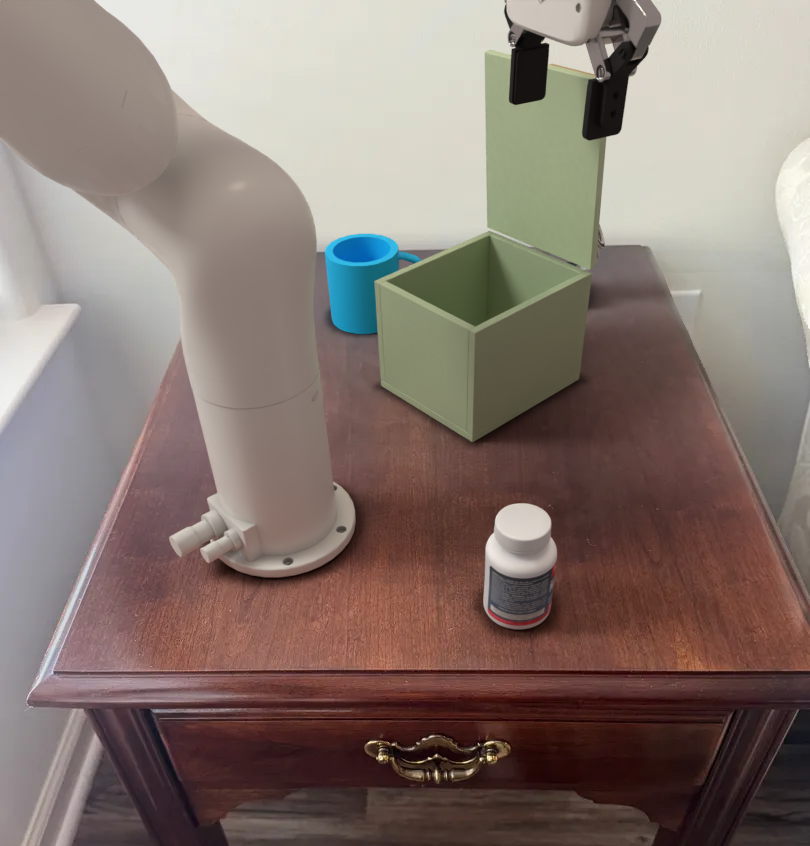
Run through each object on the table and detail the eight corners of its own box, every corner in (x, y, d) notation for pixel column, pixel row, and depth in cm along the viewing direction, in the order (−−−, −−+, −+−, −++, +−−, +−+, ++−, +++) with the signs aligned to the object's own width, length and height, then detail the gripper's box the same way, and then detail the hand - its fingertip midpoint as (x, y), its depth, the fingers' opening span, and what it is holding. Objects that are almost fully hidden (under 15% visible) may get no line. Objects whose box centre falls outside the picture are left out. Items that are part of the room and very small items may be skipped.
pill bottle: (560, 625, 65) (571, 540, 59) (493, 637, 64) (498, 553, 58) (538, 576, 69) (547, 492, 62) (475, 587, 68) (478, 503, 62)
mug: (332, 336, 97) (325, 268, 91) (330, 301, 103) (324, 236, 97) (437, 328, 97) (437, 260, 92) (429, 294, 103) (428, 228, 98)
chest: (472, 442, 82) (475, 333, 73) (380, 386, 89) (374, 280, 81) (579, 379, 89) (592, 273, 81) (485, 331, 96) (489, 230, 88)
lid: (605, 82, 68) (647, 63, 71) (484, 51, 76) (525, 35, 78) (590, 270, 80) (626, 248, 82) (486, 227, 88) (523, 208, 90)
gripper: (469, -172, 59) (463, 97, 70) (629, -156, 47) (591, 161, 59) (558, -179, 61) (538, 82, 73) (732, -165, 50) (675, 142, 62)
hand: (562, 118), depth 66 cm, fingers open, 9 cm apart
